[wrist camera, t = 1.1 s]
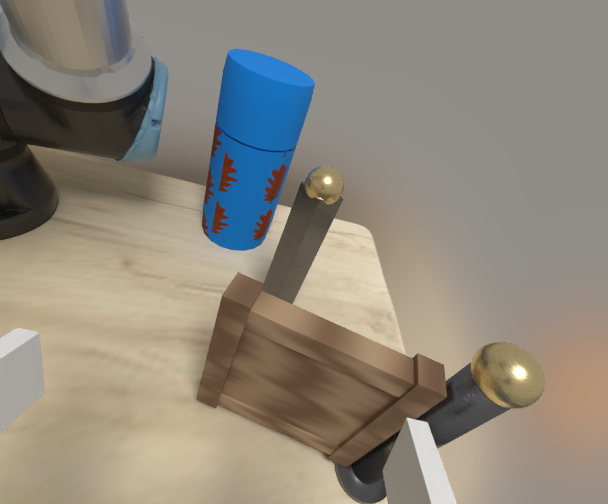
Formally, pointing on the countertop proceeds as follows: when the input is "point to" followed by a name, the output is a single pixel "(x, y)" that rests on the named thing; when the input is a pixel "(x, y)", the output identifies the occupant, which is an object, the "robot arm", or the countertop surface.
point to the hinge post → (457, 411)
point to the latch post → (304, 232)
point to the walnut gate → (312, 375)
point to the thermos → (252, 146)
